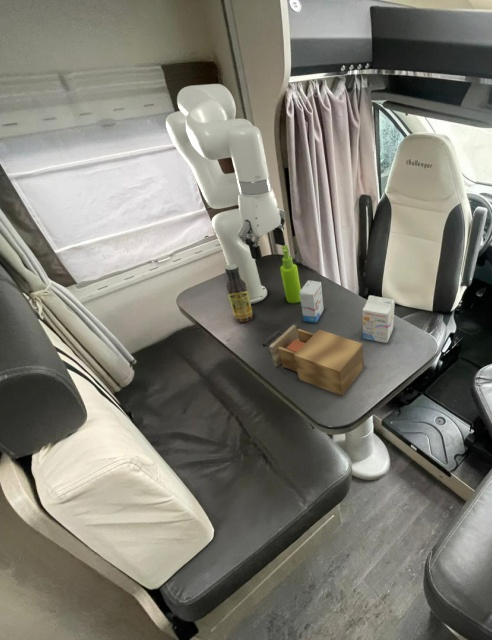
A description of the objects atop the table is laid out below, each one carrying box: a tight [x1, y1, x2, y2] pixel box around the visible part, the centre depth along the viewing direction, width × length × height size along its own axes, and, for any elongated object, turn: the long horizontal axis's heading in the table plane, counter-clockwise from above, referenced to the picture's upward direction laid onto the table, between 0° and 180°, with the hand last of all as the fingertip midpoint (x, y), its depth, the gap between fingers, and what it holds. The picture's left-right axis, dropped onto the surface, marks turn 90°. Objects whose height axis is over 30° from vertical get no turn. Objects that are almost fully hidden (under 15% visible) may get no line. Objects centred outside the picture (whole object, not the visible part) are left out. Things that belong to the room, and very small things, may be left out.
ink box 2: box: [362, 294, 396, 344], centre depth 117 cm, size 9×8×13 cm
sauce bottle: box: [224, 264, 254, 323], centre depth 121 cm, size 7×6×20 cm
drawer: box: [261, 324, 315, 373], centre depth 108 cm, size 19×11×8 cm, turn 64°
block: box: [286, 340, 305, 352], centre depth 108 cm, size 4×4×4 cm
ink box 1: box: [300, 280, 325, 324], centre depth 125 cm, size 9×5×12 cm, turn 168°
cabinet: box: [294, 329, 364, 397], centre depth 104 cm, size 15×13×10 cm
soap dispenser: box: [279, 244, 302, 304], centre depth 130 cm, size 6×7×20 cm
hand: (269, 251), depth 99 cm, fingers open, 9 cm apart
